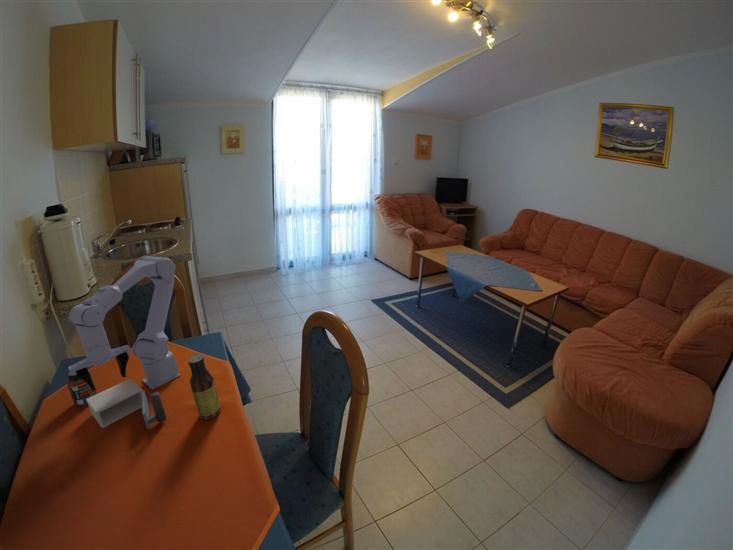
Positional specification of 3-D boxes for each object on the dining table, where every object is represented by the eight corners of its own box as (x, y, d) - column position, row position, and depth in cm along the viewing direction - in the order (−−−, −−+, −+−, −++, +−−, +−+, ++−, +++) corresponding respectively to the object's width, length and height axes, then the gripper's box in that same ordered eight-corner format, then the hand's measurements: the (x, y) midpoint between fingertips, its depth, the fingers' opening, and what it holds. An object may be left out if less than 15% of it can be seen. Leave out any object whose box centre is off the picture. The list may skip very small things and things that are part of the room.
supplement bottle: (85, 408, 106) (73, 379, 102) (70, 406, 108) (57, 376, 103) (102, 395, 112) (92, 367, 108) (88, 393, 113) (77, 365, 109)
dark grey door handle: (146, 404, 107) (138, 380, 103) (164, 398, 109) (157, 374, 106) (147, 429, 97) (138, 403, 94) (167, 422, 100) (159, 396, 96)
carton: (135, 393, 113) (130, 378, 111) (146, 404, 108) (142, 389, 105) (92, 414, 104) (86, 399, 102) (102, 428, 99) (96, 412, 96)
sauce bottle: (225, 409, 105) (214, 355, 98) (209, 423, 100) (195, 367, 92) (210, 403, 107) (198, 350, 100) (193, 417, 102) (179, 362, 95)
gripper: (67, 359, 90) (82, 401, 94) (129, 337, 100) (140, 375, 105) (61, 350, 94) (76, 390, 99) (121, 330, 104) (132, 367, 109)
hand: (109, 382), depth 102 cm, fingers open, 7 cm apart
